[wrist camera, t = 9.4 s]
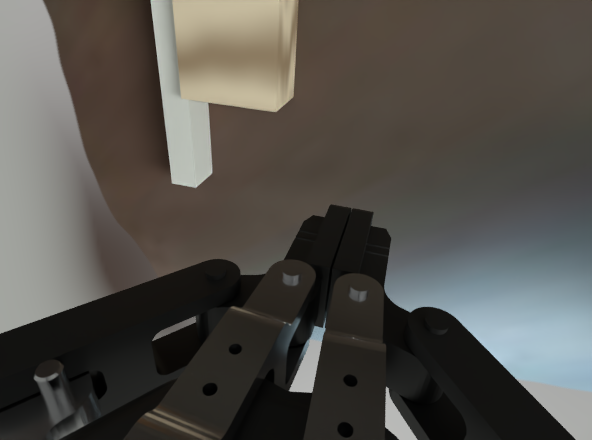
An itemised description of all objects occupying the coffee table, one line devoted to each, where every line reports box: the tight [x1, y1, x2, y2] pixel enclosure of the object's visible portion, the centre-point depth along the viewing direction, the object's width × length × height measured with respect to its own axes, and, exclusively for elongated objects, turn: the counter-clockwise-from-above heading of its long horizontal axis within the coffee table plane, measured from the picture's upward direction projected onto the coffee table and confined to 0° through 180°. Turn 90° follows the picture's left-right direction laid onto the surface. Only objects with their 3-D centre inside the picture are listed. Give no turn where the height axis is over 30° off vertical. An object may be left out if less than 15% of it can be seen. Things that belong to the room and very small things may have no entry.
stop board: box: [151, 0, 212, 188], centre depth 34 cm, size 20×2×4 cm, turn 177°
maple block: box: [172, 0, 298, 112], centre depth 32 cm, size 8×8×5 cm
